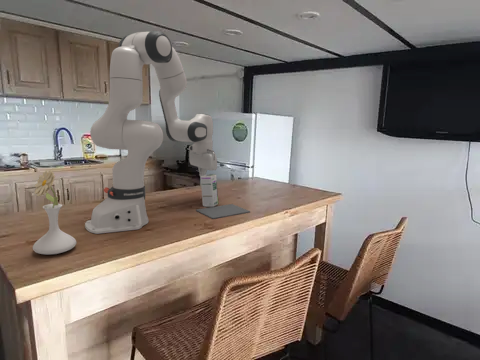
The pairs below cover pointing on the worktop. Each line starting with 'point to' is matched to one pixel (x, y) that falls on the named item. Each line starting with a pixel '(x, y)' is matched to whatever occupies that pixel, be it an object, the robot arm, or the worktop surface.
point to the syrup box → (209, 190)
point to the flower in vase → (51, 221)
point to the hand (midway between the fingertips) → (202, 176)
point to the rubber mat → (222, 211)
